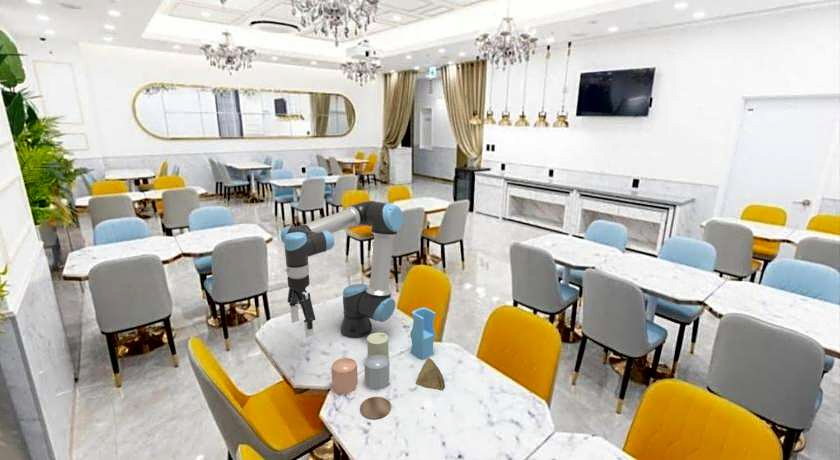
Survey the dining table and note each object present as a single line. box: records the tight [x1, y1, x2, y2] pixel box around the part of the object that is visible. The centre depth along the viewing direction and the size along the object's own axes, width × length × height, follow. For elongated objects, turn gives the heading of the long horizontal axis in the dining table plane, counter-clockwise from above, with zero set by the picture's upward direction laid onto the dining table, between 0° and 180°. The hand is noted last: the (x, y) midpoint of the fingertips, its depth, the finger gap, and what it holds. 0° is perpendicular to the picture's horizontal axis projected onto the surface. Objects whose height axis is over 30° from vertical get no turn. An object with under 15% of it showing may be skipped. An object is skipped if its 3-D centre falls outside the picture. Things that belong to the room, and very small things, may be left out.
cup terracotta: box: [330, 357, 359, 395], centre depth 153 cm, size 9×9×9 cm
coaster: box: [359, 396, 392, 420], centre depth 142 cm, size 11×11×1 cm
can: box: [366, 332, 390, 359], centre depth 168 cm, size 9×9×12 cm
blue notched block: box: [409, 307, 437, 361], centre depth 174 cm, size 8×8×20 cm
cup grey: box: [364, 355, 390, 391], centre depth 155 cm, size 9×9×9 cm
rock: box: [415, 357, 446, 390], centre depth 154 cm, size 11×9×10 cm
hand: (302, 328), depth 148 cm, fingers open, 13 cm apart
